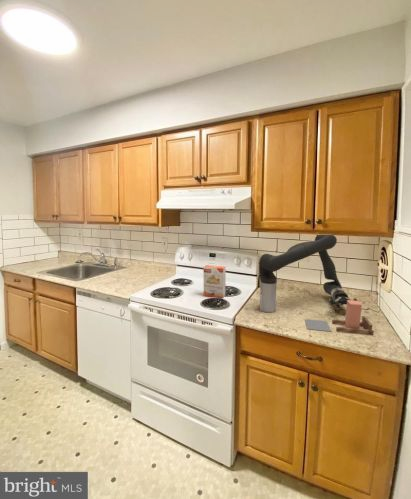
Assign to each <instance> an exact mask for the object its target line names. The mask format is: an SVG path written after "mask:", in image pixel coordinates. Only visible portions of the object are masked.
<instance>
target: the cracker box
mask: <svg viewBox="0 0 411 499" xmlns="http://www.w3.org/2000/svg"><path fill="white" fill-rule="evenodd" d="M226 270H227V269H226V266H223V265H209V264H206V265H204V266H203V296H204V297H210V298H215V297H219V298H218V299H222V298H223V299H224V298H225V297H226V285H227V284H226Z"/></svg>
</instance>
